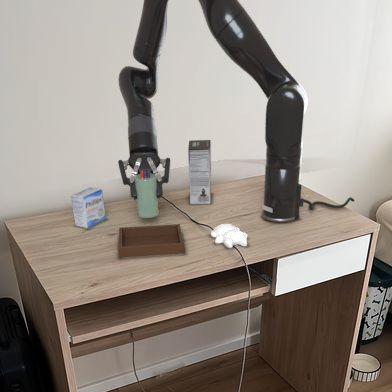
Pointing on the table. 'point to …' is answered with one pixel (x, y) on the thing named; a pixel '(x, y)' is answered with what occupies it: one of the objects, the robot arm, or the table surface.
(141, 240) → the tray
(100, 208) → the medicine box
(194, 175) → the coffee box
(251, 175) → the table surface
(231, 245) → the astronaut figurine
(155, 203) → the pen pot
